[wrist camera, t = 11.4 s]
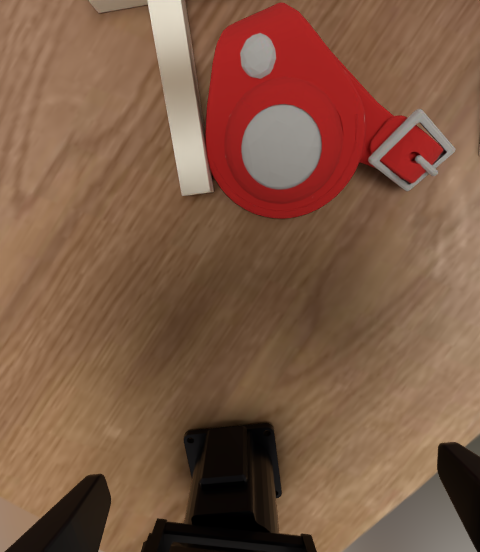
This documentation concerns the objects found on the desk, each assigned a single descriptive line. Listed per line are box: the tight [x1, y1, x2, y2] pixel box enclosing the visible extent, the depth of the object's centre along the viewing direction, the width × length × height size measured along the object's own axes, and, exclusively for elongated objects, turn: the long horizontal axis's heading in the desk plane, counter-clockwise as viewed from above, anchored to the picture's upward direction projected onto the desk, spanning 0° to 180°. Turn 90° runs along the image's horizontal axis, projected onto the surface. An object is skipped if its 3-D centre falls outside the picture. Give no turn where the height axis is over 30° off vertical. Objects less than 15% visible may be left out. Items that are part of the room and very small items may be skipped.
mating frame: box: [88, 0, 480, 196], centre depth 14 cm, size 12×25×3 cm, turn 98°
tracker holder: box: [206, 3, 455, 219], centre depth 16 cm, size 12×4×10 cm
